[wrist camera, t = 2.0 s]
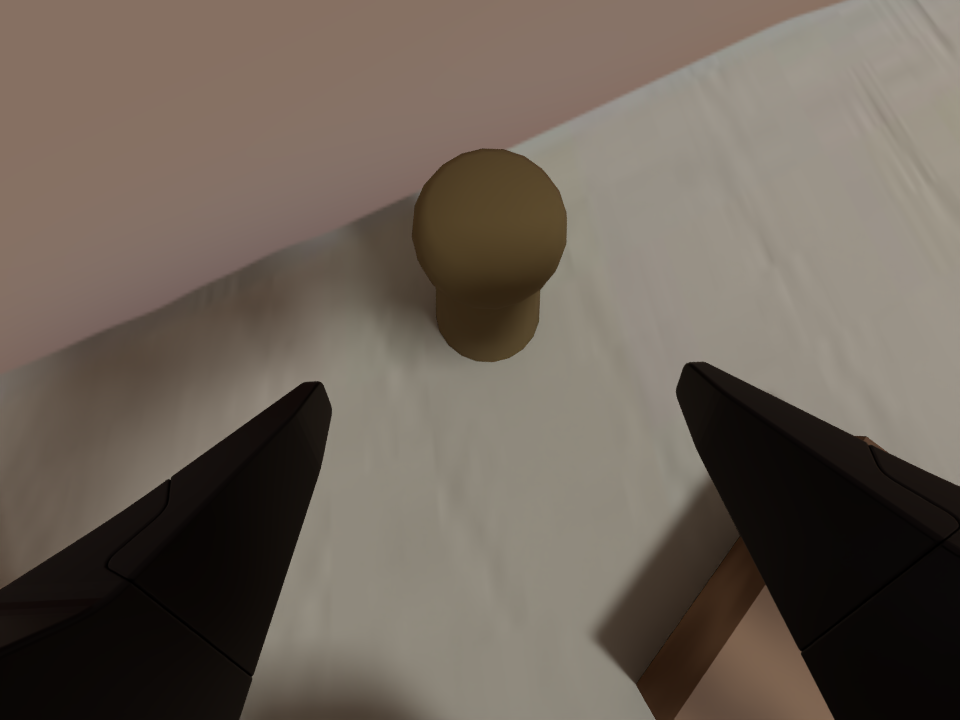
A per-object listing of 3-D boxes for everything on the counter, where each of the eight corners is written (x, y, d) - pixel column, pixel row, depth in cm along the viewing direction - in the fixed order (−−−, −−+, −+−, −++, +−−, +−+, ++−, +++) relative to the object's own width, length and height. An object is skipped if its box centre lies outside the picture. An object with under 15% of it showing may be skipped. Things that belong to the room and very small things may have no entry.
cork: (440, 367, 22) (394, 311, 11) (431, 267, 23) (382, 123, 12) (546, 356, 22) (607, 290, 11) (532, 257, 23) (576, 104, 12)
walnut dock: (966, 983, 17) (1070, 1105, 14) (635, 684, 19) (664, 734, 16) (1129, 675, 19) (1251, 724, 16) (811, 434, 21) (866, 436, 18)
